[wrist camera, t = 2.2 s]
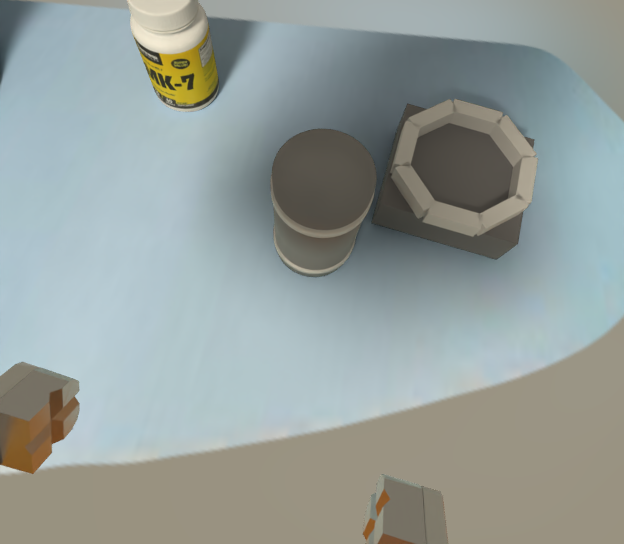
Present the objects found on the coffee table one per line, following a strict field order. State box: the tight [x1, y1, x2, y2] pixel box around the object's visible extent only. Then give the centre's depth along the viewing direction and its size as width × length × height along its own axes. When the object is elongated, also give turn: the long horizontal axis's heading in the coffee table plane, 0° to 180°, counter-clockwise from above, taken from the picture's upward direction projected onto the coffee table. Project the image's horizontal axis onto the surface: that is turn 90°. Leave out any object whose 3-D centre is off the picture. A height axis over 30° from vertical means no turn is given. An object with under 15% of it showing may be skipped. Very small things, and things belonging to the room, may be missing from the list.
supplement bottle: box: [127, 0, 219, 112], centre depth 30 cm, size 5×5×8 cm
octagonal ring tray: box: [372, 99, 538, 260], centre depth 31 cm, size 9×9×4 cm
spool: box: [271, 129, 377, 277], centre depth 27 cm, size 5×5×9 cm
